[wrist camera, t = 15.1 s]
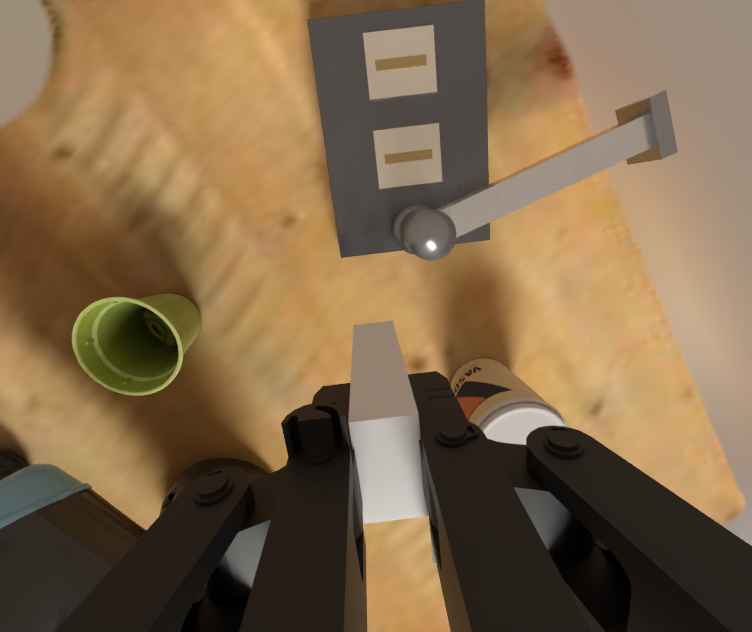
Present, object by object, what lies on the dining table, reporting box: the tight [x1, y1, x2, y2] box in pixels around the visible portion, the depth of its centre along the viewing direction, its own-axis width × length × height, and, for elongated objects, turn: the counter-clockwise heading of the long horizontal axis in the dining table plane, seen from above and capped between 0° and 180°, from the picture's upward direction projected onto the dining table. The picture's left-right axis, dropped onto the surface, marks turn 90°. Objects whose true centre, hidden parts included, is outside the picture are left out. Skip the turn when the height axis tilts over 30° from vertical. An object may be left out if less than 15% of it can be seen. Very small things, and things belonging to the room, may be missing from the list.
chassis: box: [307, 0, 490, 258], centre depth 33 cm, size 15×20×6 cm
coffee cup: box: [450, 358, 567, 445], centre depth 39 cm, size 9×9×12 cm
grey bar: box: [399, 90, 677, 260], centre depth 29 cm, size 21×4×6 cm, turn 115°
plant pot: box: [72, 293, 201, 396], centre depth 36 cm, size 9×9×9 cm
